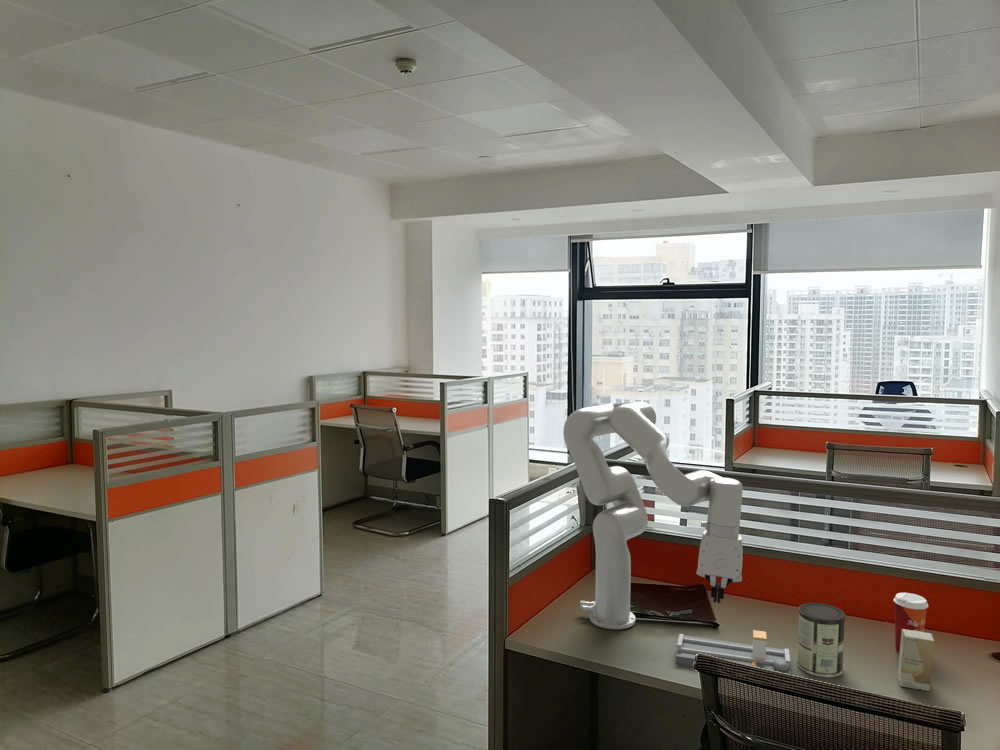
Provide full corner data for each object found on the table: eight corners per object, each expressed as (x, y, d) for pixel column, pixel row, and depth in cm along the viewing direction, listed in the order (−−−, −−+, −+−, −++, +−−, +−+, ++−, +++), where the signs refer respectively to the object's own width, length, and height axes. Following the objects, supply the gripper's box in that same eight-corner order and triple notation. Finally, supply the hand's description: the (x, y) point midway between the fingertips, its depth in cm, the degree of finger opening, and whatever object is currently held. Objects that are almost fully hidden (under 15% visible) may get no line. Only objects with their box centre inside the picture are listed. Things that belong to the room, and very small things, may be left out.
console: (675, 663, 179) (676, 649, 179) (680, 642, 190) (680, 628, 190) (790, 681, 171) (790, 666, 170) (787, 657, 182) (788, 643, 182)
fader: (752, 659, 177) (753, 637, 176) (752, 651, 181) (753, 629, 180) (765, 661, 176) (766, 638, 176) (765, 653, 180) (766, 631, 179)
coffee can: (819, 654, 184) (822, 599, 183) (852, 673, 175) (855, 616, 173) (786, 661, 181) (789, 605, 179) (818, 681, 171) (821, 623, 170)
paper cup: (912, 661, 180) (916, 606, 179) (884, 648, 187) (887, 595, 186) (932, 654, 184) (935, 600, 183) (903, 641, 191) (906, 589, 189)
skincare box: (899, 686, 168) (902, 635, 167) (897, 677, 172) (899, 627, 171) (931, 692, 166) (935, 640, 165) (928, 683, 170) (931, 632, 169)
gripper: (690, 529, 177) (684, 601, 180) (755, 538, 173) (748, 612, 175) (692, 520, 184) (687, 589, 187) (755, 528, 180) (748, 599, 182)
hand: (716, 600), depth 181 cm, fingers closed
